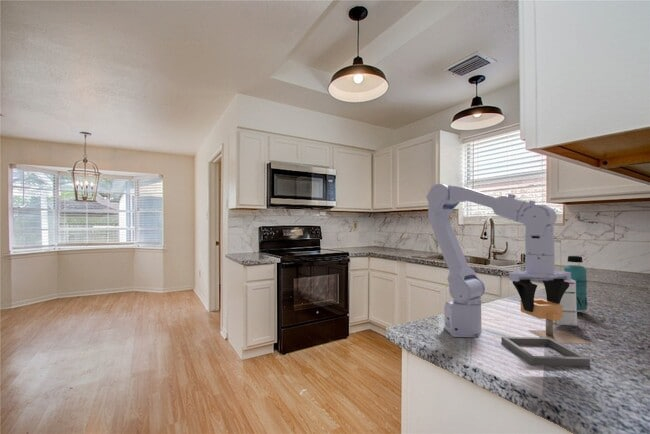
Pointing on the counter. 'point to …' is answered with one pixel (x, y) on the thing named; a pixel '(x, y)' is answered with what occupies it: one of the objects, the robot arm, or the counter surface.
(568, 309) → the syrup box
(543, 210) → the robot arm
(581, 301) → the beverage bottle
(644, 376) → the counter surface
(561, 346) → the tray
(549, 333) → the stake board
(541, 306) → the ring
